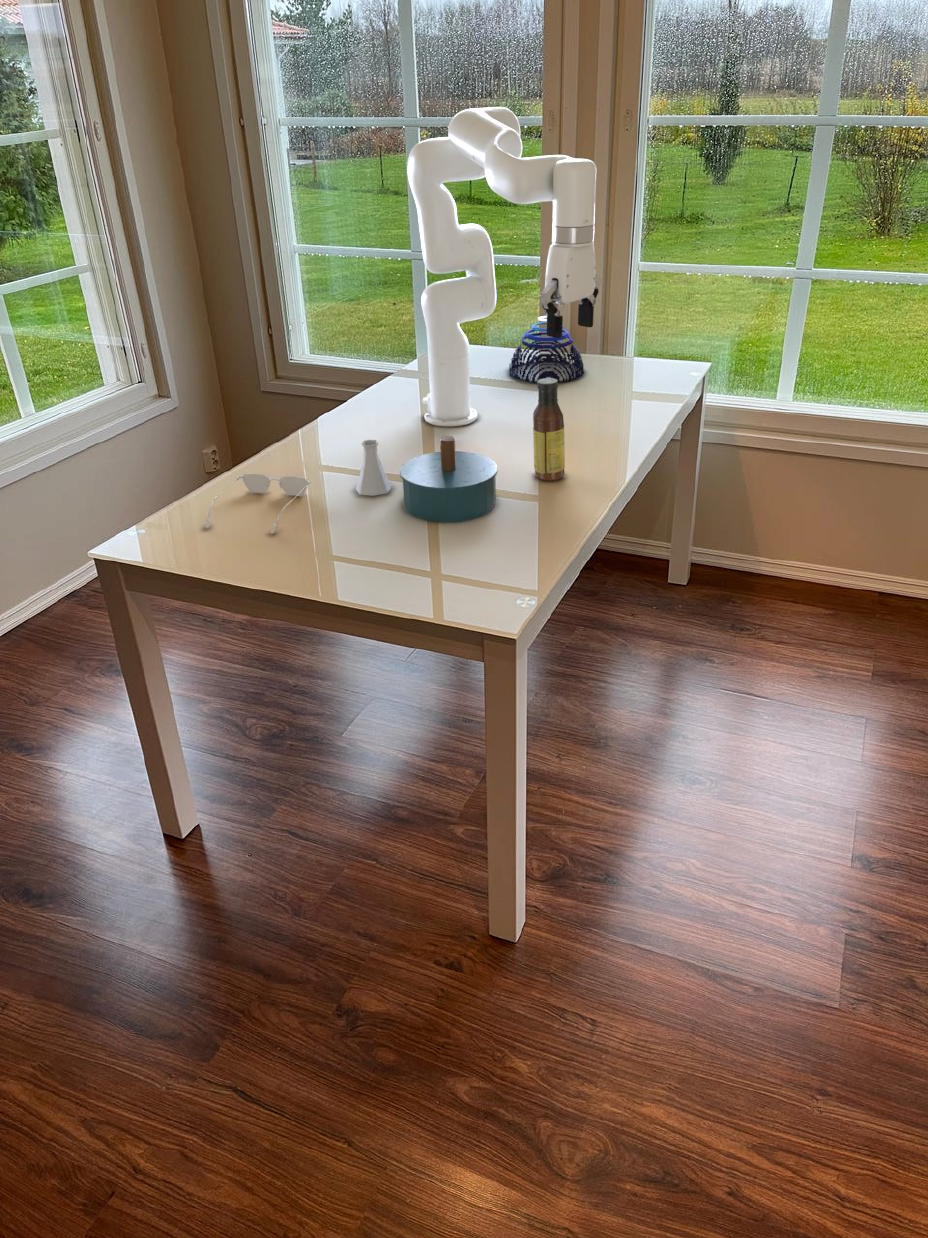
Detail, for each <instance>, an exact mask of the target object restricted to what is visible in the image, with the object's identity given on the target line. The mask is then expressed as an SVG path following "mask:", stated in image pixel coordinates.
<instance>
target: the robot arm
mask: <svg viewBox="0 0 928 1238" xmlns="http://www.w3.org/2000/svg"><path fill="white" fill-rule="evenodd" d="M522 154H523V142H522V139H521V125H520V122H519V119H518V117H517V116H516V114H515V113H514V112H513V111H512V110H511V109H509V108H508V107H505V106H504V107H503V106H490V107H475V108H474V107H473V108H466V109H464V110H461V111H459V112H457V113H456V114H455V115H454V116H453V117H452V119H451V120H450V122H449V124H448V127H447V136H443V137H433V138H427V139H424V140H421V141H419V142H418V143H416V144H415V145H414V146H413V147H412V148H411V149H410V152H409V154H408V157H407V161H406V162H407V163H406V169H407V170H406V172H407V173H406V174H407V179H408V185H409V188H410V189H411V191H410V192H411V194H412V196H413V200H414V203H415V207H416V211H417V212H416V213H417V221H418V229H419V230H418V231H419V237H420V238H419V239H420V247H421V253H422V254H421V255H422V259H423V264H424V267H425V269H426V270H427V271H428V272H429V273H432V274H434V275H435V274H436V275H443V274H451V273H457V272H458V273H459V272H465V274H466V275H465V276H464V277H454V278H449V279H443V280H438V281H435V282H433V283H430V284H429V285H428V286H427V287H425V288H424V289H423V291H422V294H421V298H420V303H421V304H420V305H421V310H422V315H423V319H424V324H425V331H426V340H427V341H426V343H427V358H428V361H427V362H428V382H429V392H428V393H427V394H426V395H425V397H423V398H422V400H421V403H422V404H423V405H426V406H427V410H426V411H425V413H424V415H423V416H424V420H425V422H426V423H428V424H430V425H433V426H437V427H460V426H465V425H468V424H471V423H473V422H475V421H476V420H477V419H478V411H477V410H476V409H474V408H472V407H471V372H470V371H471V370H470V369H471V368H470V364H471V363H470V344H469V339H468V337H467V336H466V334H465V333H464V331H463V330H462V328H461V326H460V324H463V323H465V322H467V323H468V322H471V321H477V320H481V319H485V318H488V317H490V316H491V315H492V314H493V313H494V311H495V309H496V305H497V286H496V285H497V284H496V274H495V262H494V261H495V260H494V251H493V245H492V241H491V238H490V236H489V234H488V232H487V231H486V229H485V228H484V227H483V226H481V225H480V224H476V223H465V224H460V223H459V219H458V210H457V209H458V208H457V205H456V202H455V200H454V198H453V196H452V194H451V192H450V191H449V190H448V189H447V187H446V186H445V185H444V184H445V183H456V182H465V181H475V180H476V181H477V180H481V179H484V178H485V180H486V183H487V185H488V186H489V188H490V190H491V191H493V192H494V193H495V194H497V195H498V196H499V197H501V198H503V199H505V200H506V201H508V202H510V203H513V204H516V205H528V204H535V203H542V202H552V213H551V214H552V218H551V219H552V220H551V223H552V224H551V244H550V245H549V248H548V254H547V259H546V267H545V279H544V282H545V283H544V289H543V290H542V291H541V292H540V294H539V298H540V301H541V304H542V305H541V306H542V308H543V310H544V314H545V316H547V318H546V319H547V321H546V322H547V324H546V328H547V332H546V333H547V336H546V337H556V338H561V337H562V334H563V332H562V329H563V328H562V326H563V323H564V322H563V321H564V320H563V319H564V318H563V317H564V316H563V315H561V314H562V312H563V310H564V308H565V305H568V304H571V303H574V302H578V301H580V303H578V307H577V311H578V312H577V325H578V326H579V327H585V328H593V326H594V312H595V305H596V303H597V297H598V295H599V289H600V286H601V284H602V278H601V277H600V276H598V275H597V274H596V252H595V243H594V241H595V218H596V217H595V215H596V214H595V213H596V189H597V166H596V163H595V162H594V161H593V160H590V159H587V158H574V157H571V156H569V155H565V154H552V155H539V156H530V157H522ZM555 304H557V306H555Z"/></svg>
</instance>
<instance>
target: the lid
mask: <svg viewBox="0 0 928 1238" xmlns="http://www.w3.org/2000/svg"><path fill="white" fill-rule="evenodd" d="M439 447H440V451H434V452H429V453H424V454H420V455H418V456H415V457H412V458H410V459H408V460H406V461H405V462H404V463H403V464H402V465H401V466H400V468H399V475H400V478H401V480H402V481H403V480H404V481H405V482H406V483H408V484H410V485H412V486H415V487H418V488H422V489H427V490H436V491H454V490H463V489H469V488H473V487H477V486H480V485H483V484H485V483H487V482H489V481H491V480H492V479H493V478H494V477H495V478H496V476H497V474H498V465H497V463H496V462H495V461H494V460H493V459H491V458H489V457H488V456H485V455H483V454H480V453H476V452H470V451H462V450H461V451H459V450H456V437H454V436H452V435H444V436H440V438H439Z"/></svg>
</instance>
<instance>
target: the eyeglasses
mask: <svg viewBox="0 0 928 1238" xmlns="http://www.w3.org/2000/svg"><path fill="white" fill-rule="evenodd" d="M239 480H242V481H243V483H244V485H245V487H246V488H247V490H248V491H249V492H252V493H259V494H263V493H267V491H268V489H269V488H270V486H271V481H278V485H279V488H280V489H282V490H283V492H284V493H285V494H286V495H289V496H295V497H294V498H293V499H291V500H289V502H287V504H285V505H284V506H283V508H282V509H281V510H280V512H279V514H278V516H277V517H276V520H275V521H274V524H273V526H272V528H271V530H270V533H271V534H275V533H276V532H277V530H278V524H279V521H280V518H281V515H282V514H283V512H284V510H285V509H286V508H287V506H289V504H291V503H292V502H293V501H294V500H295V499H296V498H297V497H298V496H302V495H304V494H305V492H306V490H307V488H308V486H309V485H310V484H311V483H312V481H311V480H309V479H306V478H305V477H301V476H296V475H287V476H282V477H280V478H277V477H273V478H270V477H269V476H268V475H266V474H261V473H260V474H259V473H252V472H251V473H243V475H238V476H236V477H235V479H234V480H233V481H232V482H231V483H230V484H229V485H226V486H225V488H224V489H222V491H220V492H219V494H217V495H216V496H215V497H214V498H213V500H212V502H211V504H210V507H209V510H208V515H207V518H206V521H205V528H206V529H209V527H210V525H211V513H212V508H213V506H214V503H215V501H216V499H218V498H219V496H220V495H221V494H222V493H223V492H224V491H225V490H226V489H227V488H228V487H230V486H231V485H232V484H234V482H236V481H239Z"/></svg>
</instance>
